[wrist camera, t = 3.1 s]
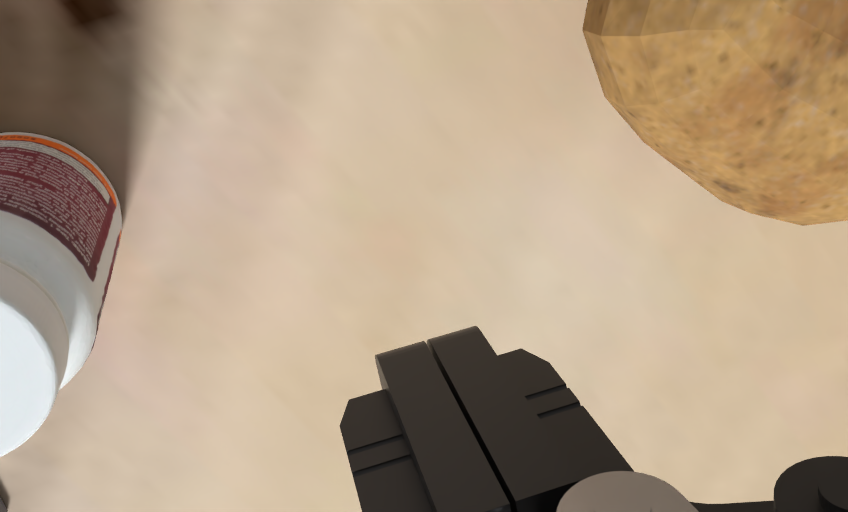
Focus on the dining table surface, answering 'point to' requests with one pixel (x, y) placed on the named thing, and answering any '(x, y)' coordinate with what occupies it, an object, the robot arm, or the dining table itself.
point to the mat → (2, 506)
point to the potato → (735, 95)
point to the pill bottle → (49, 273)
